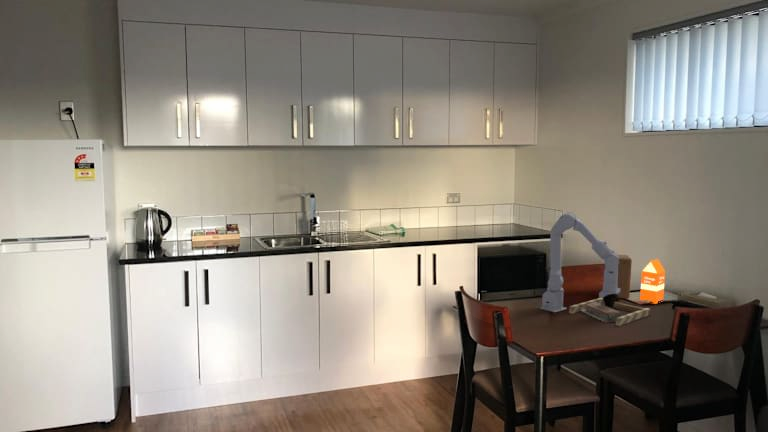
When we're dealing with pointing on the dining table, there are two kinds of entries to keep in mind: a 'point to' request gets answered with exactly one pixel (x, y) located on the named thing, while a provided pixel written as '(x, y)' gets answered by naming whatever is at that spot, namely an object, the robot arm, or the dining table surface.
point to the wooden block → (624, 276)
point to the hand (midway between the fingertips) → (608, 310)
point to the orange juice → (652, 282)
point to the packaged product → (601, 312)
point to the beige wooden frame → (621, 320)
